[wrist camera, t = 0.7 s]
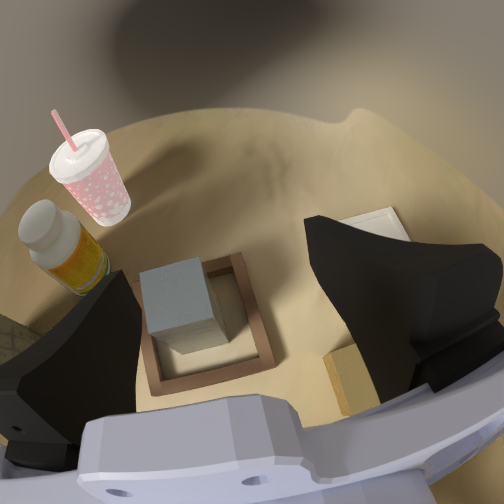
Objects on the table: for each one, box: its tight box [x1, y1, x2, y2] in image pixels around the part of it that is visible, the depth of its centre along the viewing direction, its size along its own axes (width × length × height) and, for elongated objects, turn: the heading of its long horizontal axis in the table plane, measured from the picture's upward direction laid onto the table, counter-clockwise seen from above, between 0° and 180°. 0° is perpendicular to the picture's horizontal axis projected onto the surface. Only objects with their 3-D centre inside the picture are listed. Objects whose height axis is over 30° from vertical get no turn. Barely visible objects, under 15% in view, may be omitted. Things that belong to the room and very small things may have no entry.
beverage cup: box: [49, 109, 131, 226], centre depth 25 cm, size 6×6×14 cm
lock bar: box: [323, 343, 380, 416], centre depth 21 cm, size 5×2×3 cm, turn 16°
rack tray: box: [339, 207, 411, 325], centre depth 26 cm, size 9×9×1 cm
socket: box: [132, 252, 276, 397], centre depth 25 cm, size 10×10×1 cm
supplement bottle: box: [18, 200, 110, 296], centre depth 24 cm, size 5×5×10 cm
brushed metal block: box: [139, 256, 229, 355], centre depth 22 cm, size 4×4×8 cm
